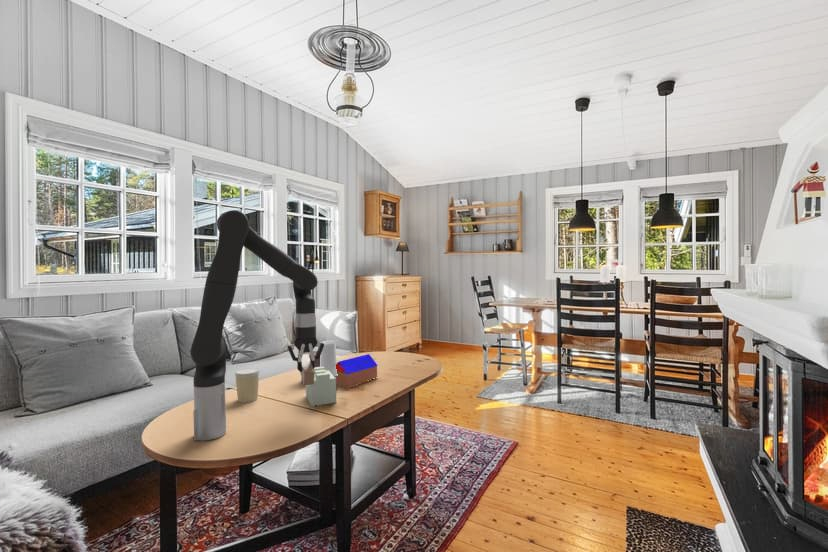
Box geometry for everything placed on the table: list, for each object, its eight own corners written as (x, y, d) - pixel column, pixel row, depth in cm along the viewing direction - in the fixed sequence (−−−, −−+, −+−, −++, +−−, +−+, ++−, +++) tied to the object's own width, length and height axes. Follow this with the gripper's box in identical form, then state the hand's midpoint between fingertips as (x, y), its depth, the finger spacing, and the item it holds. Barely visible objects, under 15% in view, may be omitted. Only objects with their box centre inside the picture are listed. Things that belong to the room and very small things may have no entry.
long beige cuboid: (303, 385, 141) (304, 373, 140) (298, 366, 153) (298, 354, 152) (313, 384, 142) (314, 371, 141) (307, 365, 155) (308, 353, 153)
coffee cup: (251, 394, 173) (251, 367, 173) (264, 398, 168) (263, 370, 168) (231, 400, 166) (230, 372, 165) (243, 404, 160) (243, 375, 160)
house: (378, 378, 196) (377, 355, 195) (347, 388, 180) (346, 363, 180) (361, 375, 203) (361, 352, 203) (330, 384, 188) (330, 359, 188)
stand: (311, 406, 157) (310, 376, 157) (306, 396, 170) (305, 368, 169) (336, 402, 161) (335, 373, 161) (329, 392, 174) (328, 365, 174)
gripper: (287, 327, 141) (287, 375, 141) (326, 325, 146) (327, 371, 147) (284, 324, 147) (285, 370, 148) (322, 322, 153) (323, 366, 154)
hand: (306, 370), depth 147 cm, fingers closed on long beige cuboid, 3 cm apart
